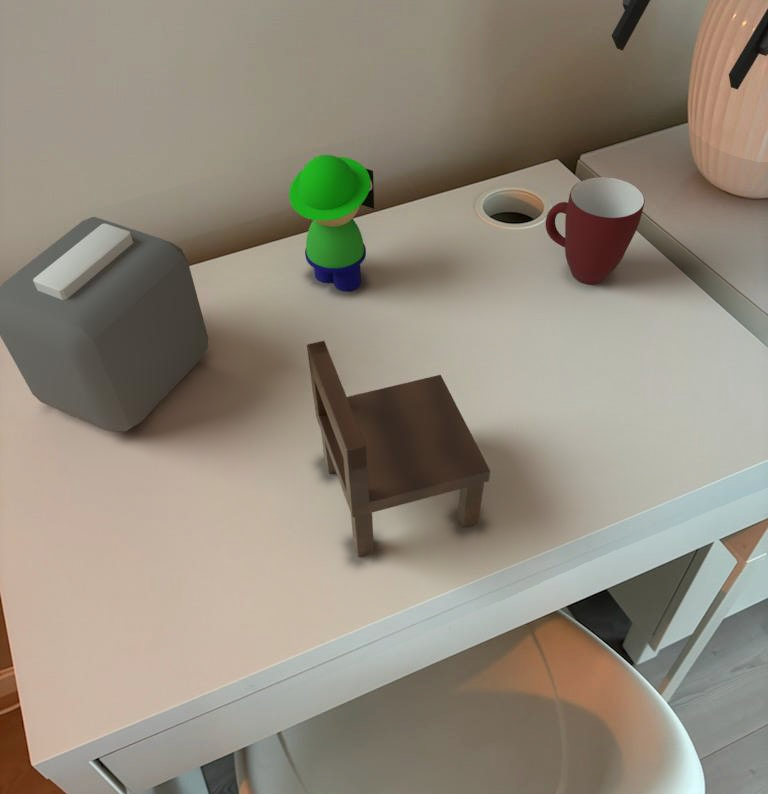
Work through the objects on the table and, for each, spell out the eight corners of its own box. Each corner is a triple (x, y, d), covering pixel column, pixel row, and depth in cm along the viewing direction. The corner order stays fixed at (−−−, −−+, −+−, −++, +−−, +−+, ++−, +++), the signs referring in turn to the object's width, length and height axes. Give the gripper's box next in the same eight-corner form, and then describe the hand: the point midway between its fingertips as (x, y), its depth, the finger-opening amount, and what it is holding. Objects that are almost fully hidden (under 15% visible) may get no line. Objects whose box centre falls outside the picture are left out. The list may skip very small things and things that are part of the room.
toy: (386, 270, 91) (385, 149, 79) (348, 311, 86) (340, 189, 74) (325, 248, 94) (314, 128, 81) (285, 287, 89) (267, 166, 77)
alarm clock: (142, 321, 86) (98, 195, 73) (224, 351, 83) (192, 224, 70) (43, 414, 78) (-26, 290, 65) (129, 451, 74) (75, 328, 62)
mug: (524, 276, 90) (537, 199, 82) (550, 241, 94) (564, 164, 86) (609, 303, 86) (630, 226, 78) (632, 265, 91) (655, 188, 82)
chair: (437, 432, 75) (444, 313, 63) (481, 525, 69) (499, 412, 56) (321, 461, 73) (306, 344, 61) (356, 560, 67) (346, 450, 54)
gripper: (925, -105, 71) (787, 117, 77) (687, -154, 81) (581, 45, 87) (937, -166, 64) (785, 81, 70) (677, -211, 74) (563, 9, 80)
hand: (672, 62), depth 79 cm, fingers open, 13 cm apart
